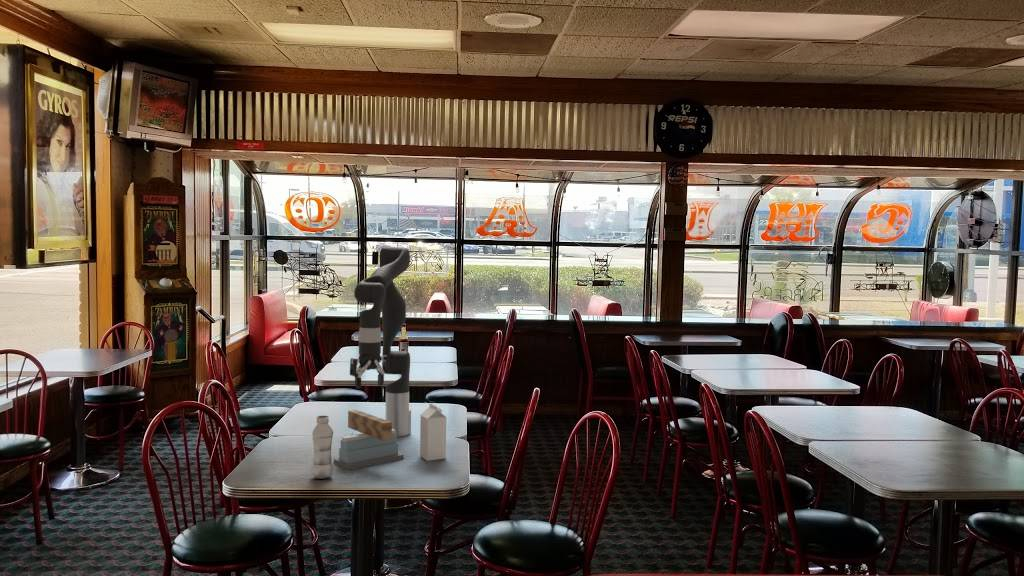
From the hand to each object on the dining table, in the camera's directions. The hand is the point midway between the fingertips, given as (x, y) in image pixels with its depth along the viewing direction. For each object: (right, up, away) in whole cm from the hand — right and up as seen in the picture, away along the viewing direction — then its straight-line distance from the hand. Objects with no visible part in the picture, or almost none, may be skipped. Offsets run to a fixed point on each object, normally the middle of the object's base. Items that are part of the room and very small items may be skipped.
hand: (369, 386), depth 271 cm
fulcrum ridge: (0, -26, +1) cm, 26 cm away
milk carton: (+21, -26, +7) cm, 35 cm away
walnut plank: (0, -16, +1) cm, 16 cm away
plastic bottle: (-12, -27, -19) cm, 35 cm away
